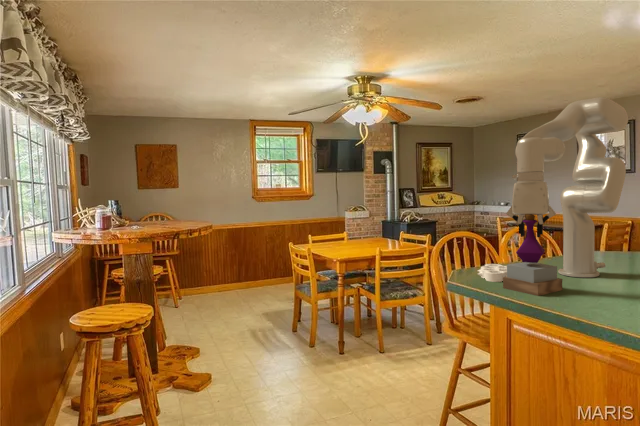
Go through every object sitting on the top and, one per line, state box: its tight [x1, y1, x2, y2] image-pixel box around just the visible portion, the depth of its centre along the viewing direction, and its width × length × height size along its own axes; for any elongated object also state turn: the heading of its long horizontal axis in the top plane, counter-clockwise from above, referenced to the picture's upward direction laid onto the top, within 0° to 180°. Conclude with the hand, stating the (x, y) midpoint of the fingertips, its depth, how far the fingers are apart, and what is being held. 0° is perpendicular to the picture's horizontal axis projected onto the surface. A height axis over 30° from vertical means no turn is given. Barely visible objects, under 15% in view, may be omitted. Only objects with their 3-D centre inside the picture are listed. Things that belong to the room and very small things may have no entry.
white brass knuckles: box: [477, 263, 507, 283], centre depth 156 cm, size 3×18×15 cm
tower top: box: [506, 262, 558, 283], centre depth 136 cm, size 10×10×4 cm
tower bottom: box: [502, 277, 563, 297], centre depth 137 cm, size 12×12×4 cm
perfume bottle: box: [515, 214, 545, 263], centre depth 137 cm, size 8×8×18 cm
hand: (530, 235), depth 137 cm, fingers open, 4 cm apart
